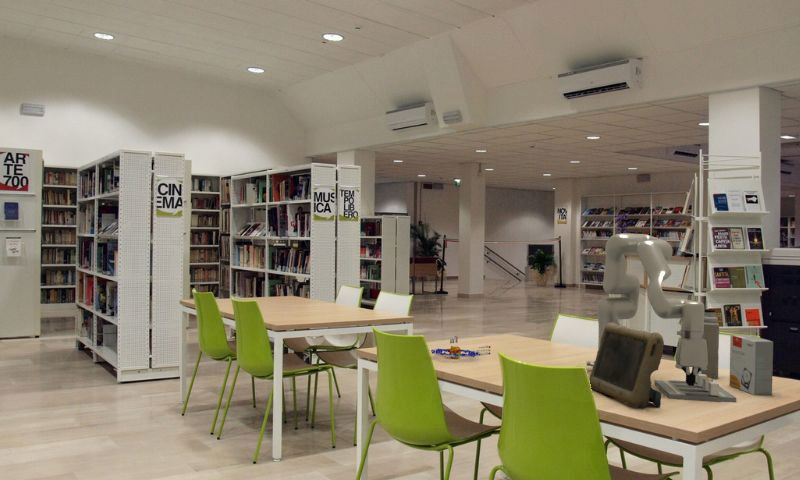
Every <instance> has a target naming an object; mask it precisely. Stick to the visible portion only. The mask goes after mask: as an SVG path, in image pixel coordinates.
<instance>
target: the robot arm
mask: <svg viewBox="0 0 800 480" xmlns="http://www.w3.org/2000/svg"><path fill="white" fill-rule="evenodd" d="M604 250H605V253H604V254H605V264H604V270H603V271H604V272H603V282H602V288H603V290H604V292H605V293H607V294H608V295H620V296H610V297H609V296H608V297H602V298H600V299H599V300H598V302H597V304H596V314H597V315H596V316H597V323H598V334H597V335H598V338H597V339H598V340H597V341H598V343H597V344H598V346H597V347H598V349H597V351H598V350H599V347H600V341H601V337H602V335H603V332H604V328H605V326H606V325H607V324H608V323H610V322H614V323H616V324H617V325H619V326H621V324H620V322H619V320H630V319H633V318H634V317H635V316H636V314H637V311H638V307H639V306H638V305H639V301H640V299H639V298H640V292H641V282H640V279H639V277H638V275H637V274H635V273H634V272H631V271H627V266H628V265H627V264H628V263H627V260H626V256H625V255H637V257H638V258H639V261H640V262H641V264H642V266H643V269H644V271H645V273H646V275H647V277H648V280H649V282H648V285H647V299H648V301H649V303H650V305H651V306H650V307H652V310H653V311H654V313H655V315H657V317H659V318H661V319H662V320H663V319H664V320H665V319H666V320H668V319H670V320H671V319H675V320H676V319H681V323H680V330H679V331H678V330H677V331H676V335H678V336H680V337H678V340H677V341H678V342H677V345H676V353H675V366H674V367H675V368H676V369H679V370H682V371H683V372H684V373H685V381H686V383H687V385H689V386H694V383H695V381H696V375H697V373H698V372H700V371H702V370H707V365H708V355H707V344H706V340H705V339H703V336H704V309H705V304H704V303H703V302H702V301H698V300H689V299H686V298H678V297H677V298H675V297H674V298H671V297H669V298H667V297H666V295H665V293H664V291H663V289H662V288H663V287H662V285H663V284H662V283H663V282H665V280H667V279H669V277H670V276H671V275H672V270H671V268H670V266H669V264H668V262H667V261H669V260H670V259H671V258H672V256H673V252H674V251H673V248H672V245H671V244H670V243H669V242H668V241H666V240H664V239H662V238H658V237H654V236H652V235H649V234H645V233H624V232H623V233H616V234H613V235H611V236H610V237H608V239H607V241H606V244H605V249H604ZM594 362H595V360H594V361H590V360H589V361H587V360H586V366H588V367H593V365H594ZM690 369H691V371H690Z"/></svg>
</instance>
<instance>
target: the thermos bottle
mask: <svg viewBox="0 0 800 480" xmlns="http://www.w3.org/2000/svg"><path fill="white" fill-rule="evenodd" d="M703 339H705V340H706V344H707V355H708V365H707V370H702V371H700V372H702V374H705V375H706V376H707V378H711V379H712V380H717V378H719V357H720V356H719V346H720V323H718V317H717V316H716V310H715V309H709V308H704V336H703Z"/></svg>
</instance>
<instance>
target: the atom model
mask: <svg viewBox="0 0 800 480" xmlns="http://www.w3.org/2000/svg"><path fill="white" fill-rule="evenodd" d="M459 337H461V336H460V335H452V338H450V339H449V344H458V342H459V341H458V338H459ZM485 348H486V349H485ZM487 348H488V349H487ZM491 348H492V347H491V346H490V345H489V346H488V345H484V346H479V347H478V350H476V351H475V350H469V349H461V347H459V346H452V345H451V346H450V348H435V349H429V350H428V351H429V352H431V354H432V355H437V356H442V357H443V356H444V357H450V358H451V359H454V360H458V359H459V360H460V358H476V357H481V356H483V355H491ZM479 349H481V350H479Z"/></svg>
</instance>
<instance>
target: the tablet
mask: <svg viewBox="0 0 800 480" xmlns="http://www.w3.org/2000/svg"><path fill="white" fill-rule="evenodd" d="M664 345H665V342H664V337H663V335H661V333H659V332H649V331H646V330H645V331H644V330H637V329H634V328H629V327H627V326H625V325H620V326H619V325H617V324H616V323H614V322H610V323H608V324H607V325H606V326H605V328H604V332H603V335H602V337H601V341H600V347H599V350H598V349H597V352H596V356H595V360H594V361H595V362H594V361H593V362H594V365H593V366H592V369H591V372H590V375H589V380H590V384H591V387H592V388H591V389H593V390H595V391H596V392H598V393H602V394H605V395H607V396H609V397H612V398H613V399H615V400H617V401H619V402H621V403H624V404H626V405H629V406H630V407H632V408H638V409H640V410H642V409H644V408H647V406H648V405H649V403H653V405H654V406H655V408H661V406H662V404H661V400H662V393H661V392H660V391H659V390H657V389H654V388H653V387H652V380H651V378H652V374H653V373H654V372H655V371H658V370H659V367H660V364H661V361H662V358H663V354H664V352H663V351H664ZM589 380H588V381H589Z"/></svg>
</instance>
